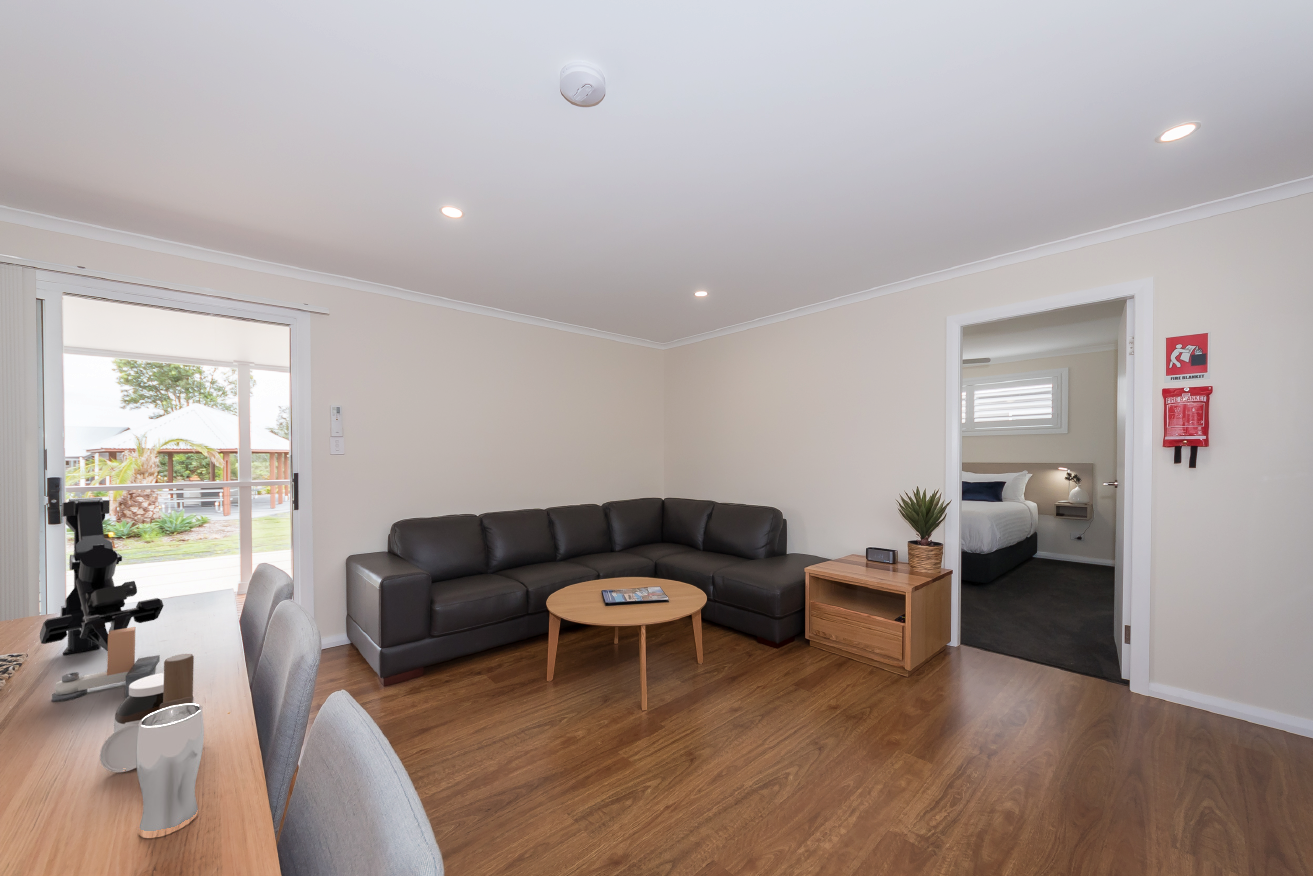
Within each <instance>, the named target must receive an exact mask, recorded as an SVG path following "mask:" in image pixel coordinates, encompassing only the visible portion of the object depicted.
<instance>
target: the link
mask: <svg viewBox="0 0 1313 876" xmlns="http://www.w3.org/2000/svg"><path fill="white" fill-rule="evenodd" d="M135 658H136V626H132V627H127V628H124V629H118V630H112V631H110V632H109V631H108V651H107V659H106V661H107V664H106V671H101V672H97V673H92V674H87V675H81V676H79V678H78V679H77V680H74V681H70V682H62V679H61V680H58V681H57V682H56V683H55V692H56V694H57V695H63V694H69V693H73V692H76V691H80V690H85V689H88V690H89V689H93V688H99V687H104V686H108V685H114V684H118V683H123V682H126V675H127V673H128V672H129V671H130V669H131V668H132V666H133V665H134V664H135V662H136V661H135V660H136V659H135ZM156 672H157V667H156V668H155V674H157V673H156Z"/></svg>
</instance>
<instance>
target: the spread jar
mask: <svg viewBox="0 0 1313 876" xmlns="http://www.w3.org/2000/svg"><path fill="white" fill-rule="evenodd" d="M163 691H164V672H160V673H155V675H151V676H147V677H144V678H141V679H139V680H136V681H134V682H133V683H131V684H130V685H129V696H128V697H127V698H126V699H125V698H124V700H123V701H122V702H121V703H120V705H119V706H118V708H117V709H116V712H115V714H114V719H113V720H114V722H113V733H111V735H110V736H108V737H107V738H106V740H105V741H104V743H103V744H102V746H101V749H100V753H99V761H100V763H101V766H102V767H103V768H104V769H106V770H107V771H110V772H113V773H124V772H129V771H132V770H135V769H137V768H136V744H137V736H138V729H139V722H140V720H141V719H143V718H144V717H145V716H147V715H149V714H151V713H153V712H156V711H158V710H160V704H161V703H163ZM193 704H195V698H194V697H193ZM123 768H126V769H123ZM123 770H126V771H123Z"/></svg>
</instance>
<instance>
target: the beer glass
mask: <svg viewBox="0 0 1313 876" xmlns="http://www.w3.org/2000/svg"><path fill="white" fill-rule="evenodd" d="M204 732H205V730H204V717H203V705H201V704H199V703H194V704H181V705H176V706H171V707H167V708H164V709H161V710H158V711H156V712H153V713H151V714H149V715H147V716H145V717H144V718H143V719H141V720H140V722H139V729H138V736H137V744H136V768H135V769H136V773H137V779H138V783H139V786H140V787H139V788H140V792H141V797H142V804H143V805H142V806H143V807H142V814H141V819H140V824H139V827H138V828H140V829H141V830H144V831H156V830H161V829H166V828H171V827H175V826H177V825H179V824H181V823H182V822H184V821H185V820H188V819H190V818H191V817H193V815H195V814H196V812H197V810H198V811H199V807H198V802H197V799H196V781H197V777H198V773H199V769H200V764H201V759H202V755H203V750H204V749H203V748H204V739H205V737H204V736H205V733H204Z"/></svg>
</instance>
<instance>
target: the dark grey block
mask: <svg viewBox="0 0 1313 876" xmlns="http://www.w3.org/2000/svg"><path fill="white" fill-rule="evenodd" d="M160 656H161V655H160V654H158V655H157V654H156V655H152V656H150V655H149V656H147V657H139V658H137V660H136V661H135V664H134V665H133V666H132V668H131V669H130V671H129V672H128V673H127V675H126V681H124V682H125V684H124V685H125V688H124V690H125V691H124V700H125V699H126V698H127V697H128V696H129V685H130V684H131V683H133V682H134V681H136V680H139V679H141V678H144V677H147V676H151V675H155V674H156V673H155V668H156V669H157V666H158V665H159V663H160V661H161V660H160Z"/></svg>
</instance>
